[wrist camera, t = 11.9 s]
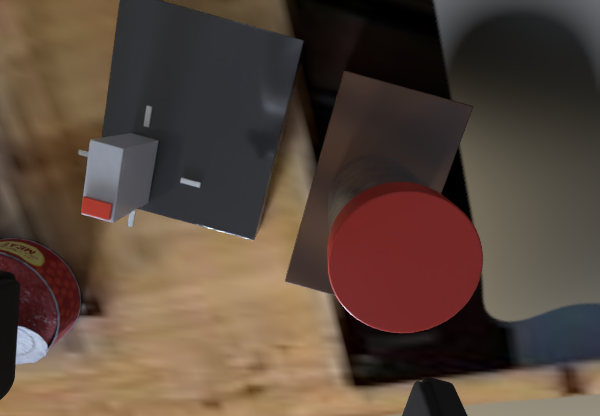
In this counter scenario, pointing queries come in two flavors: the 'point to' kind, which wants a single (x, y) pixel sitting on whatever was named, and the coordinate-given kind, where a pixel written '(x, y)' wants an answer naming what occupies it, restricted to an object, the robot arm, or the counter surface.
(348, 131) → the board
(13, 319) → the robot arm
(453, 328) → the counter surface
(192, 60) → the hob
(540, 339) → the counter surface
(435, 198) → the jar with red lid
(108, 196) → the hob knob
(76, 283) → the canned food
